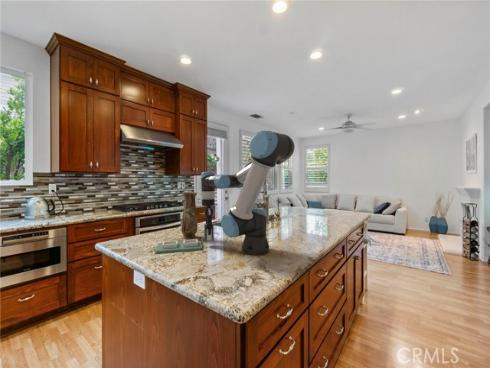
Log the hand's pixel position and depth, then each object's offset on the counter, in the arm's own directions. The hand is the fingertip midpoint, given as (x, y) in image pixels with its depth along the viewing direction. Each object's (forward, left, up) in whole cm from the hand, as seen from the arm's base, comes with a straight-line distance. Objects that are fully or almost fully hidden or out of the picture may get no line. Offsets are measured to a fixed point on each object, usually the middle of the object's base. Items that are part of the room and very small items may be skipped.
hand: (209, 239), depth 133 cm
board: (+16, -1, -4) cm, 17 cm away
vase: (+10, -21, -4) cm, 24 cm away
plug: (0, 0, 0) cm, 0 cm away
